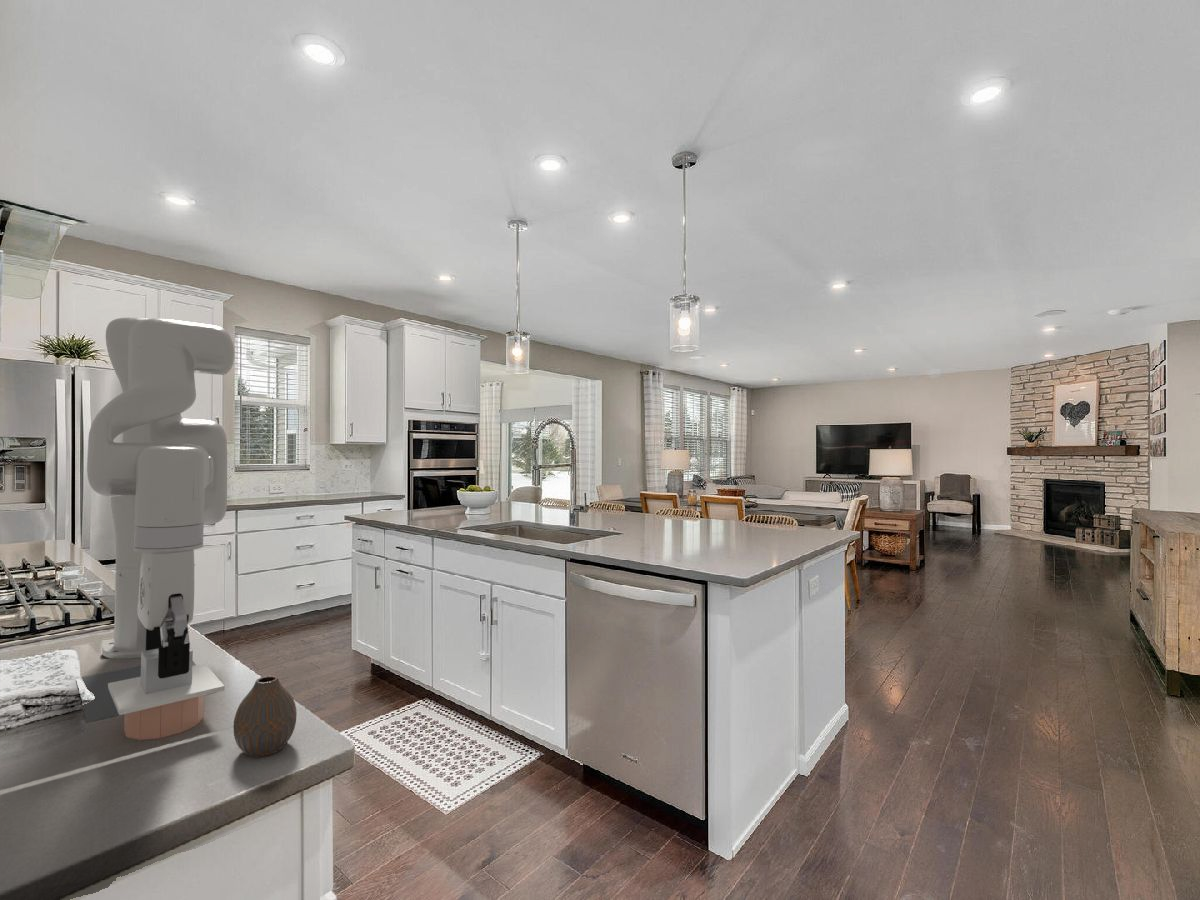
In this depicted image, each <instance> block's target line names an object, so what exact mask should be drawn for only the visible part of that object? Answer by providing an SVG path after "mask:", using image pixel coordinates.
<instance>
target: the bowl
mask: <svg viewBox="0 0 1200 900" xmlns="http://www.w3.org/2000/svg"><path fill="white" fill-rule="evenodd" d="M204 717H205V695H203V696H198V697H194V698H190V699H186V700H182V701H177V702H173V703H169V704H165V705H161V706H156V707H152V708H148V709H144V710H140V711H136V712H131V713H127V714H123V719H124V720H123V732H124V735H125V737H126V738H130V739H134V740H140V741H142V740H143V741H144V740H152V739H162V738H166V737H169V736H173V735H177V734H180V733H184V732H185V731H187V730H189V729H191V728H193V727H195V726H197V725H199V723H200V722H201V721H202V720H203V719H204Z"/></svg>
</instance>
